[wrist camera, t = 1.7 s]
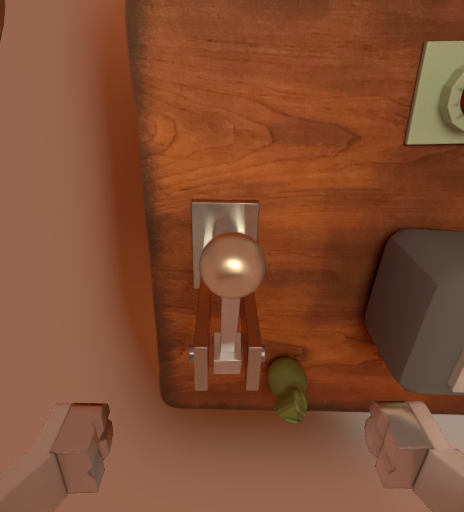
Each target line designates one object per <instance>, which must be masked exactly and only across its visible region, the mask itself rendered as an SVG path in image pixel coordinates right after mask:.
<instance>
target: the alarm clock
mask: <svg viewBox="0 0 464 512" xmlns="http://www.w3.org/2000/svg"><path fill="white" fill-rule="evenodd" d="M365 324H366V329H367V331H368V332H369V334H370V336H371V338H372V340H373V342H374V343H375V345H376V347H377V349H378V351H379V352H380V354H381V356H382V358H383V360H384V362H385V363H386V365H387V367H388V369H389V371H390V373H391V374H392V376H393V377H394V378H395V380H396V381H397V382H398V383H399V384H400V385H401V386H402V387H403V388H404V389H405V390H407V391H410V392H414V393H419V394H439V395H464V231H452V230H436V229H419V228H408V229H402V230H400V231H398V232H397V233H395V234H394V235H392V236H391V237H390V239H389V240H388V242H387V244H386V245H385V249H384V252H383V255H382V259H381V262H380V265H379V269H378V272H377V276H376V279H375V282H374V286H373V289H372V292H371V296H370V299H369V302H368V306H367V309H366V312H365Z"/></svg>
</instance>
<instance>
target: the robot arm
mask: <svg viewBox="0 0 464 512" xmlns="http://www.w3.org/2000/svg"><path fill="white" fill-rule="evenodd" d="M369 411H370V413H371V416H370V417H369V418H368V419H367V420H366V423H365V439H366V443H367V446H368V449H369V452H370V453H372V454H373V455H374V456H375V457H376V458H377V461H376V465H375V467H376V470H377V472H378V475H379V477H380V479H381V482H382V485H383V487H384V488H405V489H412V490H413V492H414V493H415V494H416V495H417V496H418V497H419V498H420V499H421V500H422V501H423V502H424V503H425V504H426V505H427V506H428V508H429V509H431V511H432V512H464V454H463V453H462V452H461V451H460V450H458V449H452V447H451V445H450V444H449V442H448V441H447V439H446V437H445V436H444V434H443V432H442V431H441V429H440V428H439V426H438V424H437V423H436V421H435V419H434V418H433V416H432V415H431V413H430V411H429V410H428V408H427V406H426V405H425V404H424V403H423V402H422V401H375V402H372V403H371V405H370V408H369ZM109 413H110V410H109V406H108V404H97V403H56V404H55V405H54V406H53V407H52V409H51V411H50V413H49V415H48V417H47V419H46V421H45V423H44V425H43V427H42V429H41V431H40V433H39V435H38V437H37V439H36V441H35V443H34V445H33V447H32V449H31V451H30V453H25V454H23V455H22V456H21V457H20V458H18V459H17V460H16V461H15V462H13V463H12V464H11V465H10V466H9V467H7V468H6V469H5V470H4V471H3V472H2V473H0V512H54V511H55V510H56V509H57V508H58V506H59V505H60V504H61V503H62V502H63V501H64V499H65V498H66V497H67V496H68V495H67V494H71V493H93V492H98V490H99V487H100V484H101V480H102V477H103V473H104V470H105V469H104V464H103V460H104V459H105V458H106V457H107V456H108V455H109V452H110V448H111V444H112V436H113V426H112V422H111V421H110V420H109V419H108V416H109Z"/></svg>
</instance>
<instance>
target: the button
mask: <svg viewBox="0 0 464 512" xmlns="http://www.w3.org/2000/svg"><path fill="white" fill-rule="evenodd" d="M461 106H462V109H463V111H464V92H463V95H462V98H461Z"/></svg>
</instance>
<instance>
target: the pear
mask: <svg viewBox="0 0 464 512" xmlns="http://www.w3.org/2000/svg"><path fill="white" fill-rule="evenodd" d="M267 377H268V382H269V386H270V389H271V391H272V393H273V395H274V397H275V398H276V402H275V404H274V412H275V413H276V414H277V415H279V416H280V417H282V418H284V419H285V420H286V421H287V422H288V423H293V424H297V423H298V422H301V421H302V418H303V417H305V415H306V414H305V413H306V411H307V397H306V391H307V378H306V375H305V372H304V370H303V368H302V367H301V365H300V364H299V363H298V362H297V361H296V360H294V359H292V358H289V357H281V358H278V359H276V360H275V361H273V362H272V364H271V365H270V367H269V369H268V373H267Z"/></svg>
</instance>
